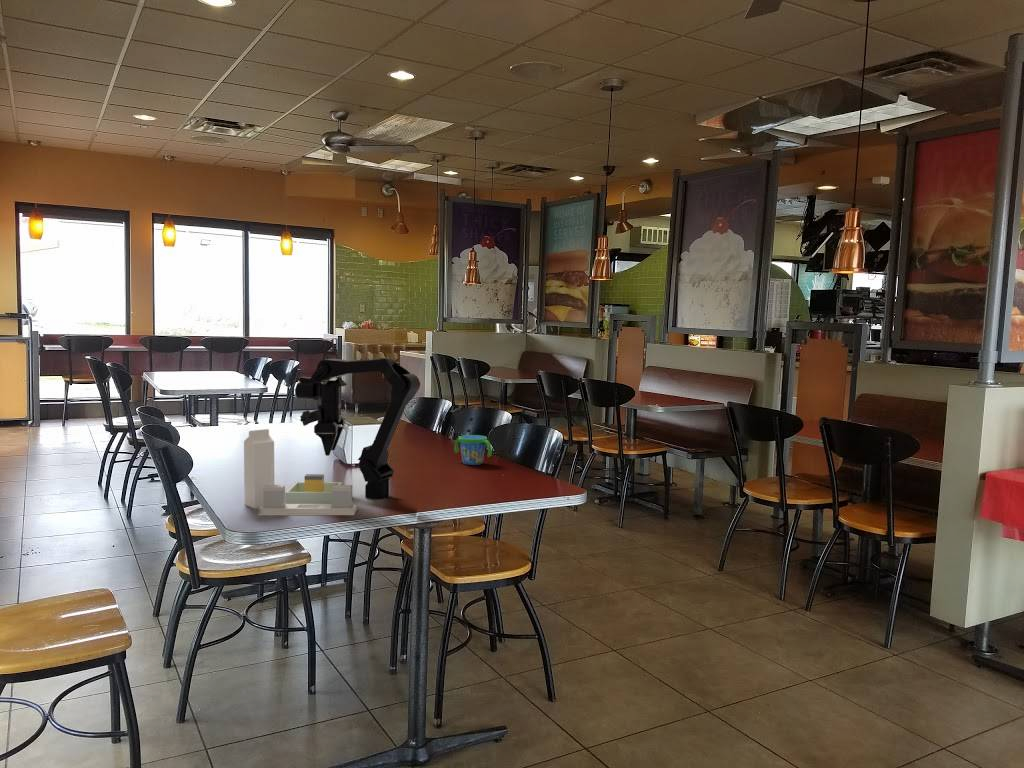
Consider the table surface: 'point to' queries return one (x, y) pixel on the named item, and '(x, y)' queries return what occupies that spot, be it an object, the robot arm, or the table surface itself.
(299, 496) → the green tray
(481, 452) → the snack cup
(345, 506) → the block
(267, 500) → the block
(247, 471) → the milk
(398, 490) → the table surface
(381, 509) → the table surface
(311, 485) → the block
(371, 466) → the robot arm
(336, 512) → the fuse holder
